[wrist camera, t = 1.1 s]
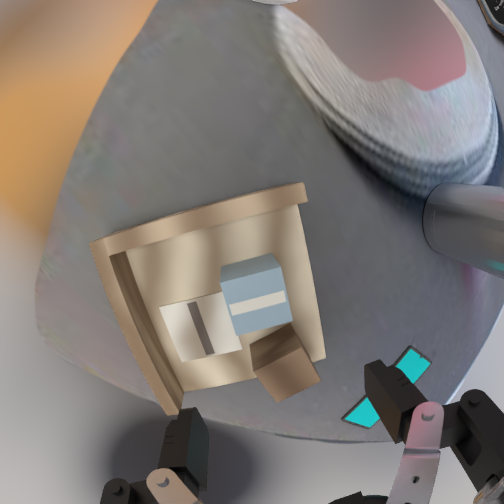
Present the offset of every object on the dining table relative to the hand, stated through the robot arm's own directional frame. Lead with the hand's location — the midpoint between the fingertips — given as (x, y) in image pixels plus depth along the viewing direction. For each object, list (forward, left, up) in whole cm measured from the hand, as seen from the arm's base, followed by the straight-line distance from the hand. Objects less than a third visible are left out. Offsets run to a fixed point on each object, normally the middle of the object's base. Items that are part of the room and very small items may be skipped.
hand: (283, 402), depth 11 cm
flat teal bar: (-15, +23, -19) cm, 34 cm away
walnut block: (-1, +8, -17) cm, 19 cm away
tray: (+4, +1, -18) cm, 18 cm away
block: (0, 0, -17) cm, 17 cm away
